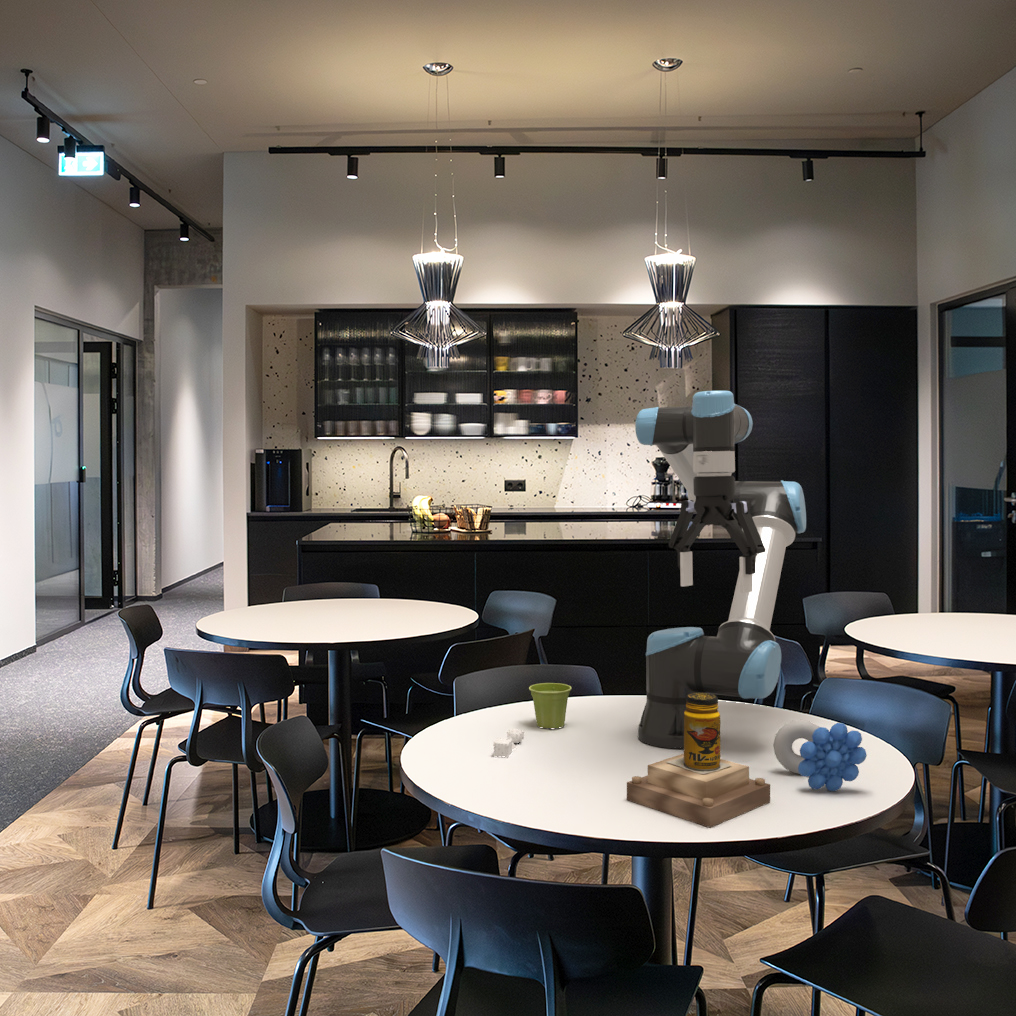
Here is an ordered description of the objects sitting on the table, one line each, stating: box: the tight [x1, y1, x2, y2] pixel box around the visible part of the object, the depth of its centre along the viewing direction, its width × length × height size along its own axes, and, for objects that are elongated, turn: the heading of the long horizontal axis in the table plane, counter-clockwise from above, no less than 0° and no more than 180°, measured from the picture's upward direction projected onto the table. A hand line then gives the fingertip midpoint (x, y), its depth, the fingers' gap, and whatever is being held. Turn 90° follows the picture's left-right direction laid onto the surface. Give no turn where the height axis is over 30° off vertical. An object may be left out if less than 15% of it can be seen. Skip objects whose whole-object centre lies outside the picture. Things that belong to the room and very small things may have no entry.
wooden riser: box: [626, 752, 771, 828], centre depth 155 cm, size 17×17×6 cm
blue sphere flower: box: [798, 722, 868, 792], centre depth 160 cm, size 12×7×12 cm, turn 87°
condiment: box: [667, 693, 732, 774], centre depth 155 cm, size 7×8×12 cm
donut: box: [772, 719, 820, 775], centre depth 169 cm, size 10×4×10 cm, turn 79°
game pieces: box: [492, 728, 525, 758], centre depth 185 cm, size 12×3×3 cm, turn 163°
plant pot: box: [528, 682, 572, 729], centre depth 203 cm, size 9×9×9 cm
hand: (715, 589), depth 170 cm, fingers open, 13 cm apart
